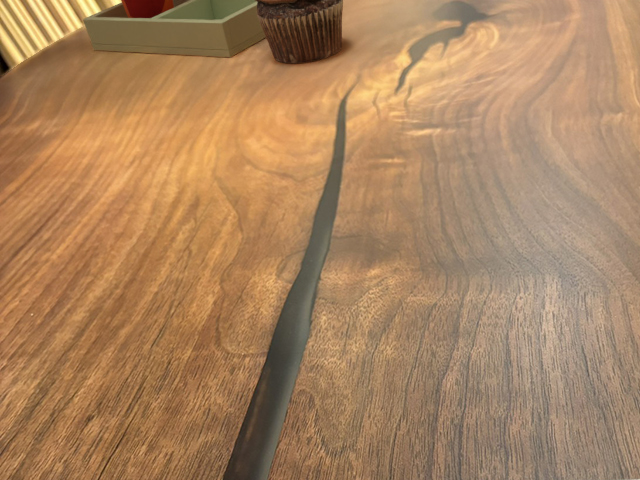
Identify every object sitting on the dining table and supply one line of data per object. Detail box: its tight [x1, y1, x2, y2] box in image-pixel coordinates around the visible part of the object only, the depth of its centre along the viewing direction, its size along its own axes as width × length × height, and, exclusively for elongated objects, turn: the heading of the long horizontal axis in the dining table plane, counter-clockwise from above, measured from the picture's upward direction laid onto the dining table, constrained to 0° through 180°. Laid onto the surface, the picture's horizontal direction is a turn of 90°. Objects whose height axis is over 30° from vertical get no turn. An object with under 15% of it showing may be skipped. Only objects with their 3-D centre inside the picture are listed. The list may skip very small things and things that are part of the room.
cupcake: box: [255, 0, 344, 64], centre depth 79 cm, size 10×10×10 cm
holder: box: [82, 0, 266, 58], centre depth 91 cm, size 12×23×4 cm, turn 61°
